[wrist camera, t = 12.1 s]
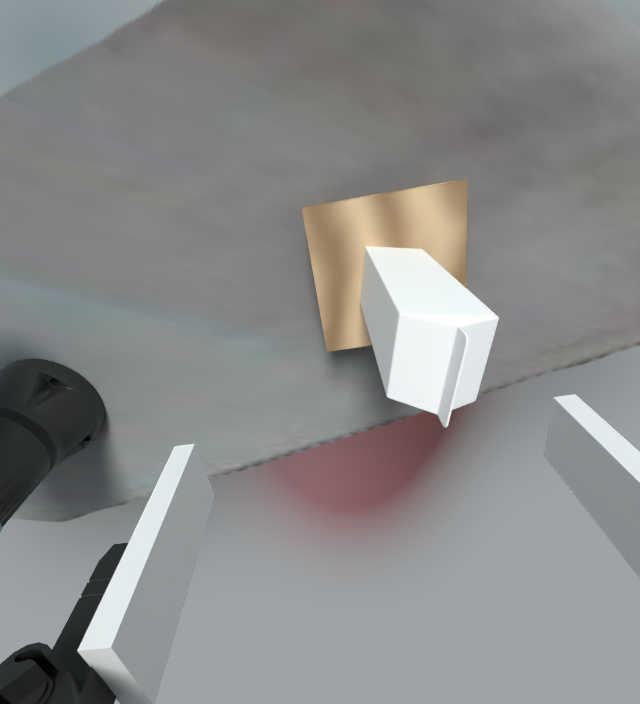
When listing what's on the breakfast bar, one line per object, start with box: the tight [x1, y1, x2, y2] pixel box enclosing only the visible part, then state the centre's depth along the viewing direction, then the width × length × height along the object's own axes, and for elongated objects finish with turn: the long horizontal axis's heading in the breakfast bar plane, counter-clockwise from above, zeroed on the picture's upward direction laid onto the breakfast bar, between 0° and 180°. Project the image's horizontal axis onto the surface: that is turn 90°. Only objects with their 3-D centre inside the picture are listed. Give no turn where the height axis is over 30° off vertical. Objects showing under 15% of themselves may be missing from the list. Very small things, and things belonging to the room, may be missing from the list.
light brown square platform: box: [302, 179, 467, 352], centre depth 43 cm, size 16×16×6 cm
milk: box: [360, 246, 499, 427], centre depth 31 cm, size 6×6×22 cm
